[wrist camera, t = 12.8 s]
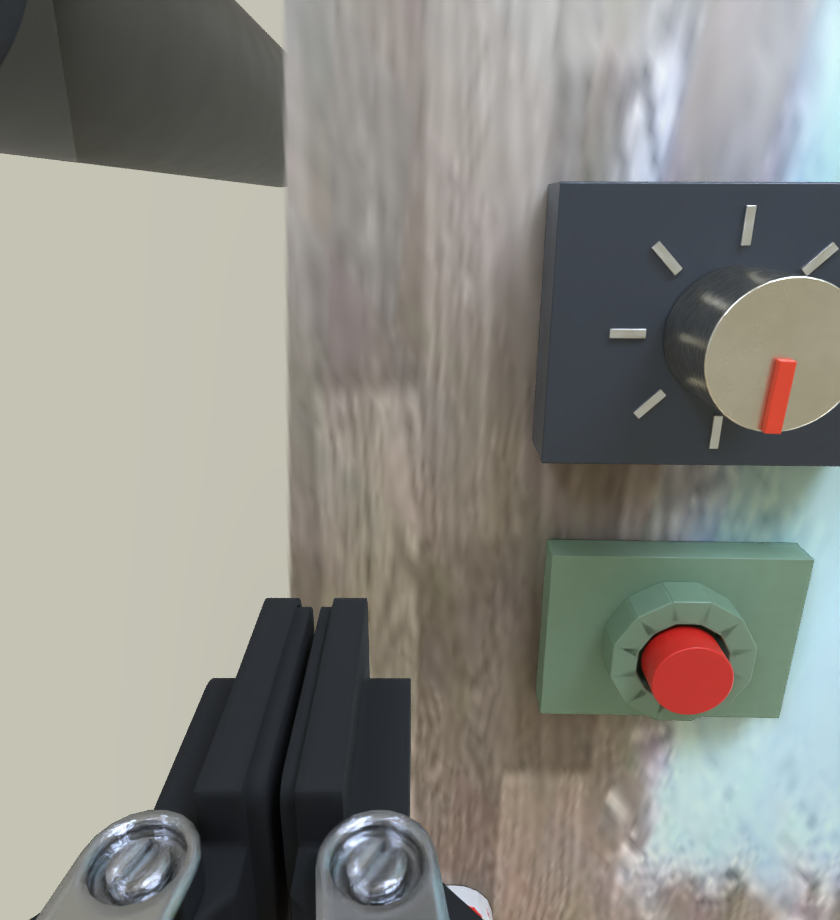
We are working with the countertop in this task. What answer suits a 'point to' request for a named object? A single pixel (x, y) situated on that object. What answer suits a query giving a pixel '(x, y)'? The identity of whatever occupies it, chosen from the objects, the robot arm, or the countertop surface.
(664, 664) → the button
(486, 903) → the beverage cup
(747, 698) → the button block
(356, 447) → the countertop surface
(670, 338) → the dial
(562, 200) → the dial panel
